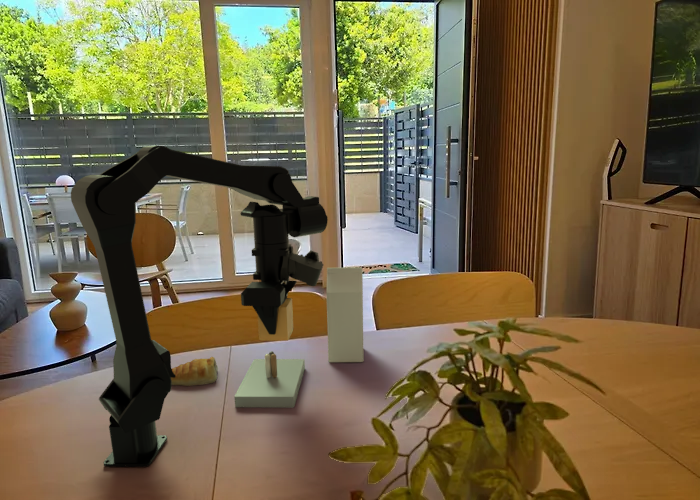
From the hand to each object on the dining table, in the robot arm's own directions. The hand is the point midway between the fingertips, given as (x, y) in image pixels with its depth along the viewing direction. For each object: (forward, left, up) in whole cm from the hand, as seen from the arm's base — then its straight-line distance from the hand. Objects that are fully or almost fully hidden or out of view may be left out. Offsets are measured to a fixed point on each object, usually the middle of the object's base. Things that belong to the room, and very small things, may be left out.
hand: (275, 328), depth 81 cm
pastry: (+4, +17, -12) cm, 21 cm away
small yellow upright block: (0, 0, -1) cm, 1 cm away
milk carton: (+14, -12, -12) cm, 22 cm away
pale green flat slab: (+1, +1, -12) cm, 12 cm away
